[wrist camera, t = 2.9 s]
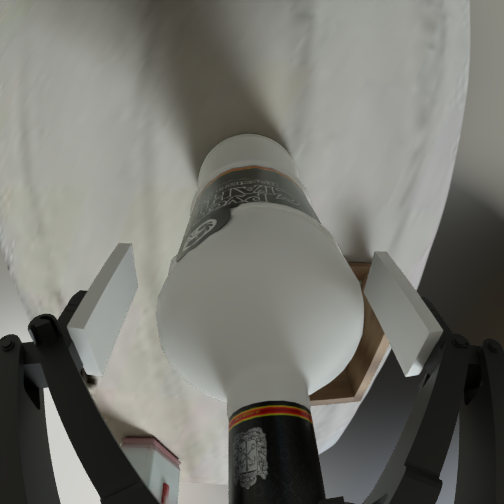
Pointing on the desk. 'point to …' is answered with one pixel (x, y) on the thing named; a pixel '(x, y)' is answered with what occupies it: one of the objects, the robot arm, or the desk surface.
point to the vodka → (260, 315)
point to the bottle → (154, 467)
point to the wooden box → (357, 355)
